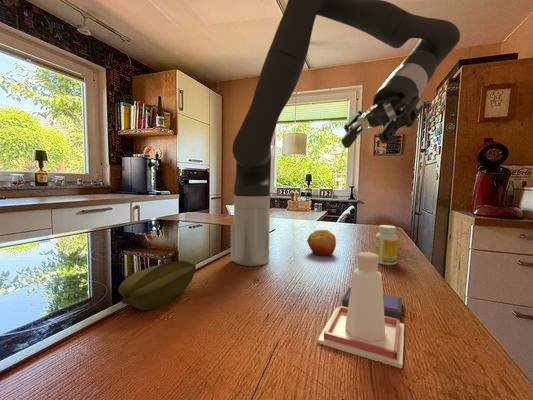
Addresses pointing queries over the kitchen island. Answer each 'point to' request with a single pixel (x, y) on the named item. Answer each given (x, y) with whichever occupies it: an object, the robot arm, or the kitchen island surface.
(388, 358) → the pink and white tray
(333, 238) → the fruit
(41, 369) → the kitchen island surface
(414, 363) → the kitchen island surface
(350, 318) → the pepper shaker
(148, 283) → the fruit
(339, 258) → the kitchen island surface
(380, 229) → the supplement bottle
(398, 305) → the ink pad
